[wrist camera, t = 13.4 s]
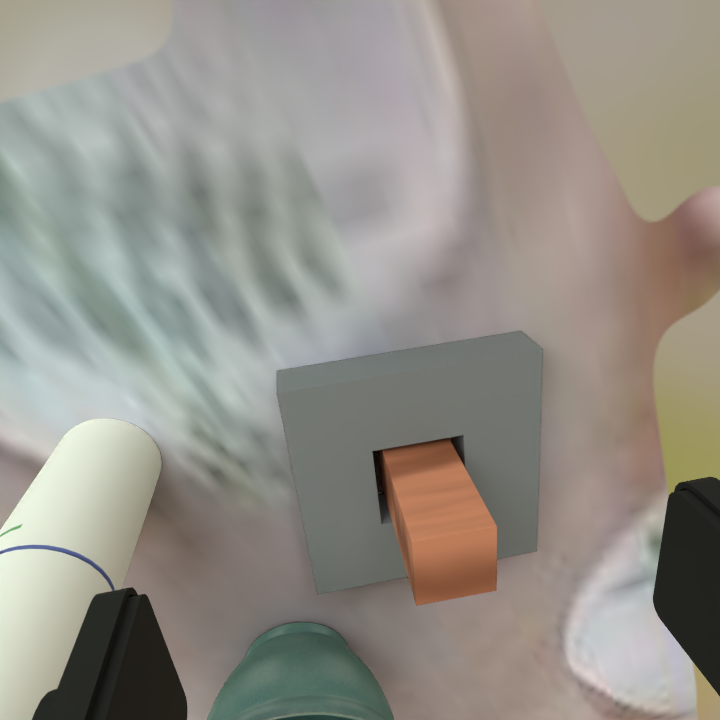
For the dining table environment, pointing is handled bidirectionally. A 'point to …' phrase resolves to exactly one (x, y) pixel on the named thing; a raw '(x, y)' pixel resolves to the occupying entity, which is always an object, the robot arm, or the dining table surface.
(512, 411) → the socket block
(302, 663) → the green bowl
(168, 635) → the dining table surface
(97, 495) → the cylindrical container
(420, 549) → the peg
